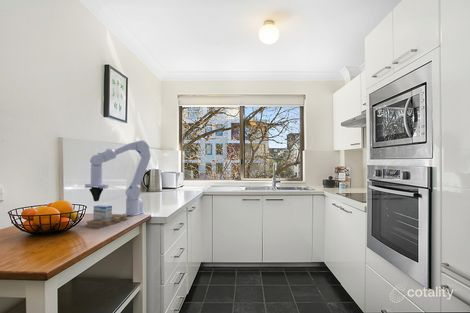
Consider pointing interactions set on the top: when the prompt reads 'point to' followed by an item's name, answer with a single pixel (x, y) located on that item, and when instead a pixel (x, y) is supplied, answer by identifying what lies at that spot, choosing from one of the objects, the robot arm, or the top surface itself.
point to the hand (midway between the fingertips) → (96, 201)
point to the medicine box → (102, 212)
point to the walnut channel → (106, 221)
